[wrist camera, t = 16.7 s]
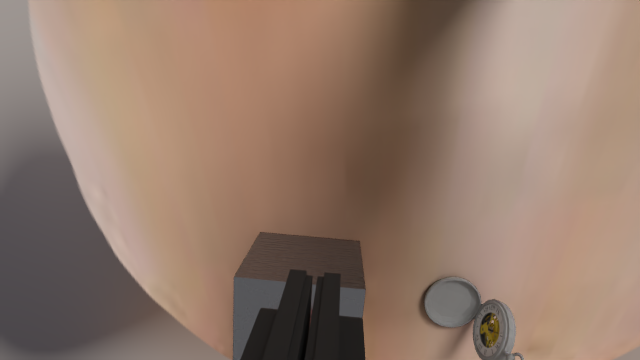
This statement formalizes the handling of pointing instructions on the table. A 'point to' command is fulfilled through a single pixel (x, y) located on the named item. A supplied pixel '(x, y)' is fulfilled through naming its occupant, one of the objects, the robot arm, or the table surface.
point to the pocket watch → (473, 316)
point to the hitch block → (273, 269)
